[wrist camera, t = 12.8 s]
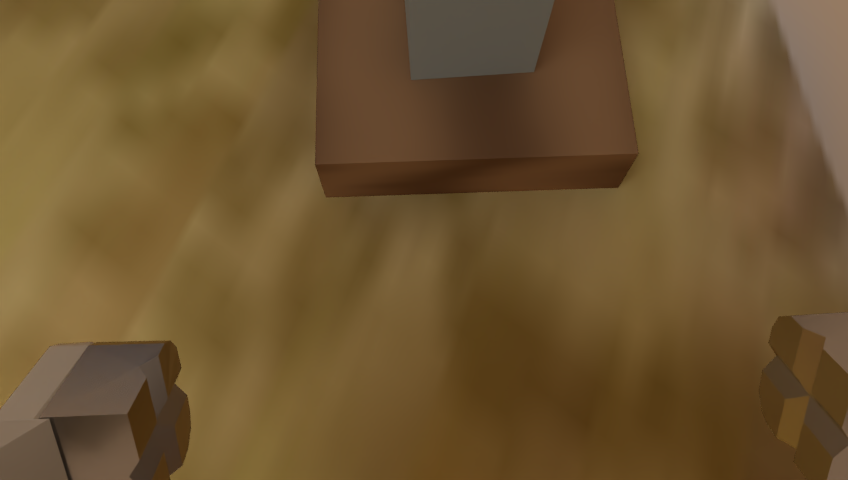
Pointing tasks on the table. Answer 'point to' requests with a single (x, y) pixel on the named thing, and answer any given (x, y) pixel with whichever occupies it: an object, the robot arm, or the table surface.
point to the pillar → (474, 36)
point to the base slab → (469, 109)
